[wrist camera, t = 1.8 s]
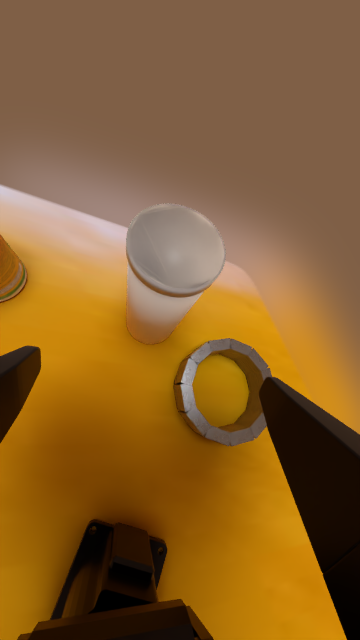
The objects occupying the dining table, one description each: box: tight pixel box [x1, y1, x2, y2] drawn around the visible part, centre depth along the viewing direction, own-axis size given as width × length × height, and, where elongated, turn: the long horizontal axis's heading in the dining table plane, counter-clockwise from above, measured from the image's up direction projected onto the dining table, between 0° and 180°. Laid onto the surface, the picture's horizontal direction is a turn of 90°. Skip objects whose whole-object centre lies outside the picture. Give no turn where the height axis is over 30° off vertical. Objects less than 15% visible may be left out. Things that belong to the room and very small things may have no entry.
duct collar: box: [174, 338, 272, 446], centre depth 21 cm, size 9×9×3 cm
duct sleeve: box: [126, 204, 226, 344], centre depth 17 cm, size 5×5×13 cm
